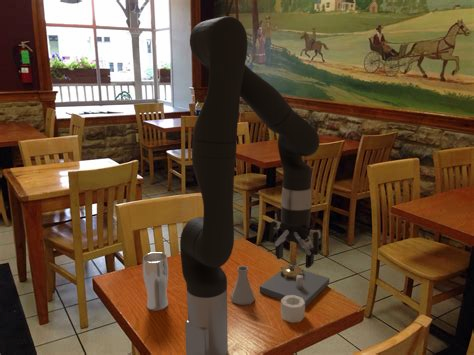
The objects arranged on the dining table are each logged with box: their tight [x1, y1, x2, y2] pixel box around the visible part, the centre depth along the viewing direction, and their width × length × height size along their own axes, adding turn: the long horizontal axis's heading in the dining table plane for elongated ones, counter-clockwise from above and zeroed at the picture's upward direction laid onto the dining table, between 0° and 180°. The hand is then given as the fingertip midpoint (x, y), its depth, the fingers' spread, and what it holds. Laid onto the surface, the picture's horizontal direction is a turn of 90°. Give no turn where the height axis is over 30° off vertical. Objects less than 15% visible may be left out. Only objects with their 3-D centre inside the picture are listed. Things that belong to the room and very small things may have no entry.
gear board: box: [259, 270, 330, 308], centre depth 126 cm, size 17×15×6 cm
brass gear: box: [279, 263, 304, 280], centre depth 131 cm, size 8×8×3 cm
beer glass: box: [142, 251, 169, 312], centre depth 116 cm, size 7×7×15 cm
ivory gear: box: [280, 295, 306, 323], centre depth 112 cm, size 6×6×4 cm
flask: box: [230, 265, 256, 306], centre depth 119 cm, size 7×7×10 cm
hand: (293, 262), depth 108 cm, fingers open, 8 cm apart
